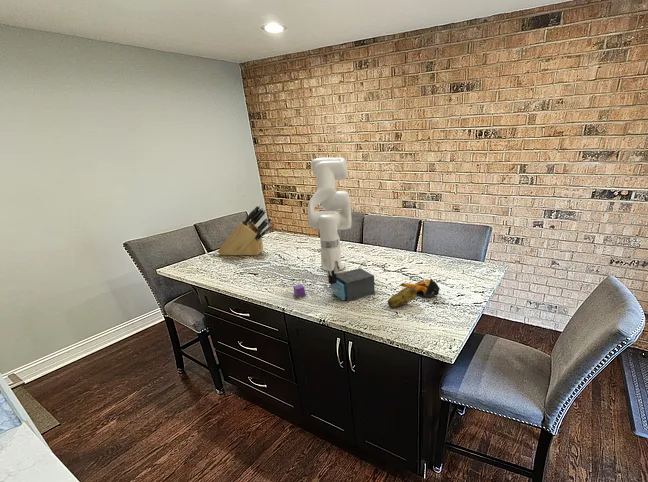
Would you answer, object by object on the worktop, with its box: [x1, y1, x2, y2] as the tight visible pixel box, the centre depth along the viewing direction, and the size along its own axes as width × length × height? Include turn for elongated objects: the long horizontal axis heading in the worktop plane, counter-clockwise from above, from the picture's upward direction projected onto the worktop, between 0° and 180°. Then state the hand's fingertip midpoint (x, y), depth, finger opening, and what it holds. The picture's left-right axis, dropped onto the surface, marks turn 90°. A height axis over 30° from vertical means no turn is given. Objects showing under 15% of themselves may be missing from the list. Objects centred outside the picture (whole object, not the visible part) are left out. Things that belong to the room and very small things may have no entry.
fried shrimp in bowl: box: [399, 278, 441, 298], centre depth 156 cm, size 9×11×18 cm
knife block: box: [217, 204, 273, 256], centre depth 216 cm, size 11×35×31 cm, turn 89°
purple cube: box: [292, 284, 306, 298], centre depth 159 cm, size 4×4×4 cm
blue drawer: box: [323, 278, 347, 301], centre depth 156 cm, size 18×11×7 cm, turn 125°
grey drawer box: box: [336, 267, 376, 302], centre depth 159 cm, size 15×13×9 cm
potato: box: [387, 287, 417, 308], centre depth 146 cm, size 8×13×8 cm, turn 93°
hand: (332, 283), depth 152 cm, fingers closed
